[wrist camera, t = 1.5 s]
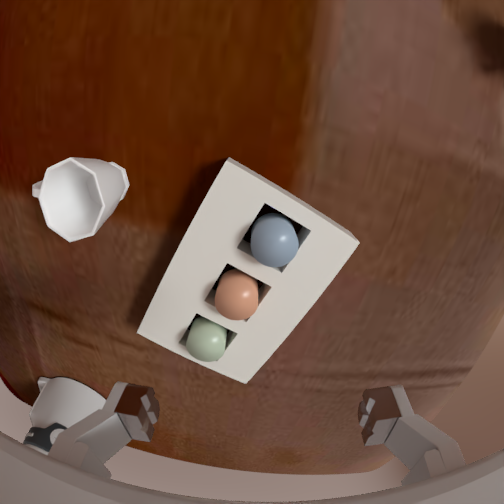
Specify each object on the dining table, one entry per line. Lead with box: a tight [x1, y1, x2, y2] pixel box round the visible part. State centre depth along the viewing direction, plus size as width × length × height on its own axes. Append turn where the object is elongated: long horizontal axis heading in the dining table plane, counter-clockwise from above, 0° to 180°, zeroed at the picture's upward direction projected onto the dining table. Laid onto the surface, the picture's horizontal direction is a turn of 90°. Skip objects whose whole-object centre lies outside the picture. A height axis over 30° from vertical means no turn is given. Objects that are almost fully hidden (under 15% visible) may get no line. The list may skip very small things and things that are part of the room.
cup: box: [32, 157, 129, 242], centre depth 24 cm, size 7×10×8 cm
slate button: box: [251, 213, 299, 267], centre depth 27 cm, size 4×4×3 cm
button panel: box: [137, 157, 360, 384], centre depth 30 cm, size 21×14×3 cm
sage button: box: [186, 316, 227, 362], centre depth 31 cm, size 4×4×3 cm
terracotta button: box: [215, 269, 258, 320], centre depth 29 cm, size 4×4×3 cm
